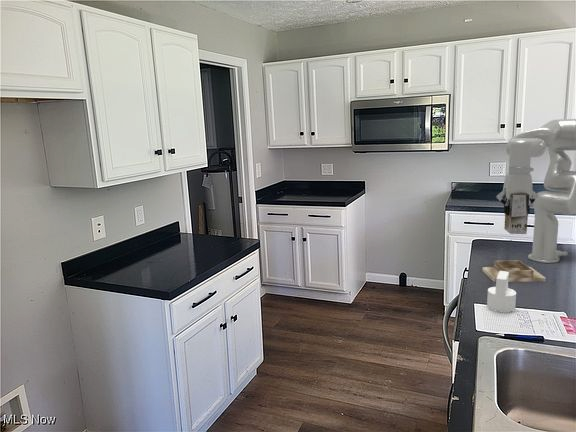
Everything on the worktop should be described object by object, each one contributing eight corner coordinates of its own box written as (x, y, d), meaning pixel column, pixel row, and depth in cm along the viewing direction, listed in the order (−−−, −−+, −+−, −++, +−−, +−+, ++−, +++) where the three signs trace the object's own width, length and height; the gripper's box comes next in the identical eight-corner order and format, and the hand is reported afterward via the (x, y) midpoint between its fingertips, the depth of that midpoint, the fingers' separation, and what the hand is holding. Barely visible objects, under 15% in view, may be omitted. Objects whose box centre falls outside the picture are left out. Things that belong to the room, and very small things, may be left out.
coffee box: (527, 234, 176) (530, 194, 173) (509, 234, 177) (512, 194, 174) (520, 229, 185) (522, 191, 181) (503, 228, 186) (506, 191, 183)
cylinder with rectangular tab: (513, 314, 150) (516, 281, 147) (485, 309, 154) (486, 277, 152) (516, 304, 157) (518, 272, 154) (488, 300, 162) (490, 269, 159)
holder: (530, 270, 191) (531, 260, 190) (545, 281, 177) (546, 270, 176) (482, 270, 193) (482, 260, 192) (493, 281, 179) (494, 271, 178)
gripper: (537, 169, 178) (534, 212, 182) (493, 170, 180) (490, 213, 184) (546, 171, 171) (542, 216, 175) (499, 172, 173) (497, 217, 177)
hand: (516, 214), depth 179 cm, fingers closed on coffee box, 6 cm apart
